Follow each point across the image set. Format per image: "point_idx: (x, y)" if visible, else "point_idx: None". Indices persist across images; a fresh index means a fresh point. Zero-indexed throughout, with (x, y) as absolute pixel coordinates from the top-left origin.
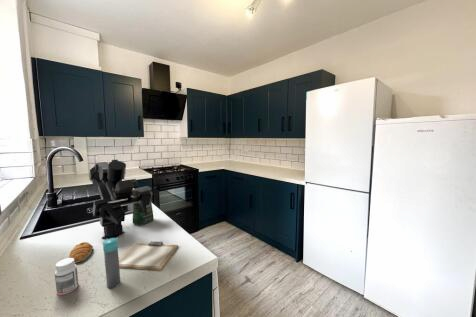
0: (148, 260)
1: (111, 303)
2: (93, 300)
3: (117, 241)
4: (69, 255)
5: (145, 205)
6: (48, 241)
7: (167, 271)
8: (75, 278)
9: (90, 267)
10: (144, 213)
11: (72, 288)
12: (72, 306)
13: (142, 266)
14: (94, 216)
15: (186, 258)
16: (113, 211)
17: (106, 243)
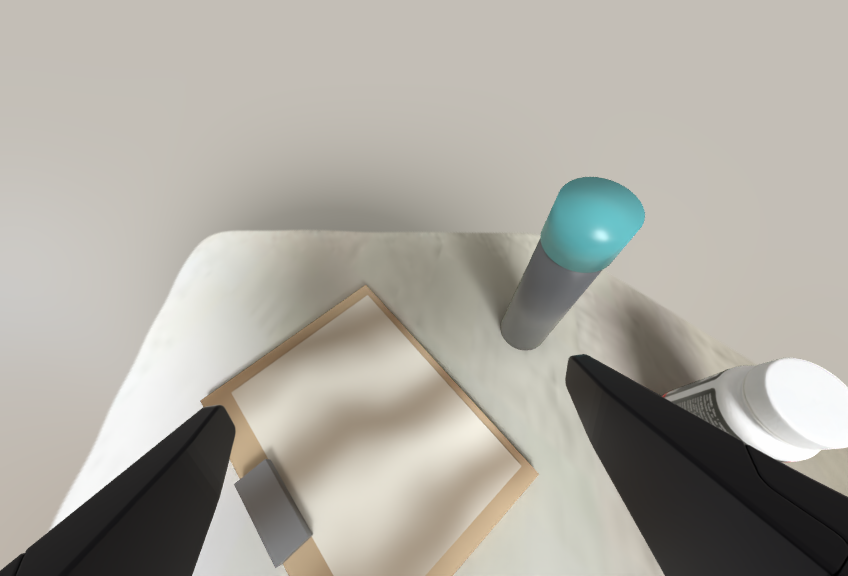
0: (379, 364)
1: (530, 251)
2: None
3: (555, 202)
4: None
5: (11, 571)
6: None
7: (352, 270)
8: (683, 393)
9: (636, 566)
10: (213, 450)
11: (670, 391)
12: (637, 310)
13: (414, 342)
14: None
15: (257, 291)
16: (765, 508)
17: (619, 193)
